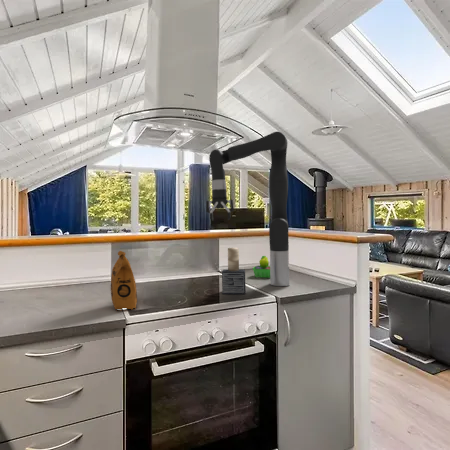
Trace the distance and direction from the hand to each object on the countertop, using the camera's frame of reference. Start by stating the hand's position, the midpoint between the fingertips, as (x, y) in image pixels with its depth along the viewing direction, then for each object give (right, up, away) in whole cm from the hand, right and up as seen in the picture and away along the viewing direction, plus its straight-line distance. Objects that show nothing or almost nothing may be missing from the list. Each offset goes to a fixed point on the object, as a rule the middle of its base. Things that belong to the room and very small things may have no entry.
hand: (220, 220), depth 167 cm
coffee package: (-38, -36, -39) cm, 65 cm away
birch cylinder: (+6, -23, -21) cm, 32 cm away
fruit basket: (+24, -32, +13) cm, 42 cm away
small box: (+7, -34, -20) cm, 40 cm away
